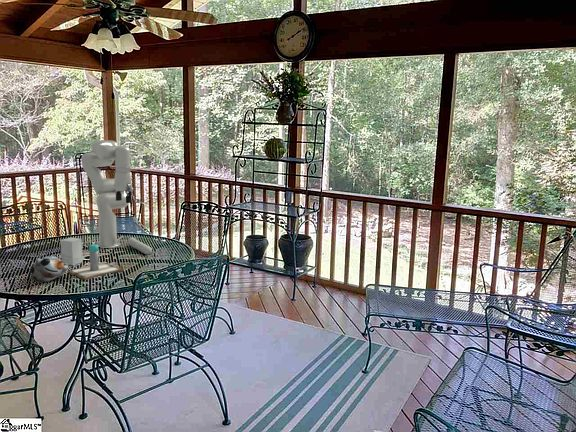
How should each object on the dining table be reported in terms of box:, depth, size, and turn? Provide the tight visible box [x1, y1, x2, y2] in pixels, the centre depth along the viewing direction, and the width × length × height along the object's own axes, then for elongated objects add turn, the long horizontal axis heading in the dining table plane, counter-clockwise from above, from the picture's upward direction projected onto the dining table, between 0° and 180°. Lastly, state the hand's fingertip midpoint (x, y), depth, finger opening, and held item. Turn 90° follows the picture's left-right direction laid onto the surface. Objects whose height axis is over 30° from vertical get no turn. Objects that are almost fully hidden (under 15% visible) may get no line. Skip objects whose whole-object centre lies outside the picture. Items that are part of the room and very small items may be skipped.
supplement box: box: [60, 237, 84, 266], centre depth 250 cm, size 7×7×13 cm
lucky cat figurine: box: [30, 255, 70, 283], centre depth 225 cm, size 15×12×14 cm
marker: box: [88, 243, 100, 271], centre depth 236 cm, size 4×4×12 cm
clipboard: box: [67, 262, 125, 281], centre depth 238 cm, size 16×20×2 cm
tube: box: [127, 237, 153, 256], centre depth 280 cm, size 5×5×25 cm
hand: (123, 201), depth 262 cm, fingers open, 9 cm apart
